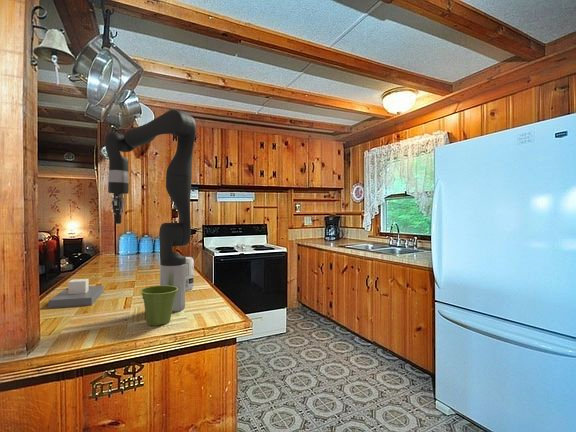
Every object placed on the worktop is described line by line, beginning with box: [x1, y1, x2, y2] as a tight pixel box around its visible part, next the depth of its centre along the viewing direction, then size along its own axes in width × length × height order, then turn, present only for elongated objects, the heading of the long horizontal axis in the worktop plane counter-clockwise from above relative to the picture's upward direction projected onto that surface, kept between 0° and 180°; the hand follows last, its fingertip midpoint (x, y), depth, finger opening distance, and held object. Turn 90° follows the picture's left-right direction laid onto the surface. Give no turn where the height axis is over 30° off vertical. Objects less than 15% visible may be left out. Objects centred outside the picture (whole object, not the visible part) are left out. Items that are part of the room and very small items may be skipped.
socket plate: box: [48, 285, 104, 309], centre depth 126 cm, size 20×14×4 cm
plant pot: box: [139, 285, 178, 327], centre depth 102 cm, size 12×12×11 cm
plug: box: [67, 278, 90, 294], centre depth 126 cm, size 4×6×7 cm
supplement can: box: [185, 256, 195, 291], centre depth 147 cm, size 8×8×15 cm
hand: (118, 223), depth 126 cm, fingers closed
